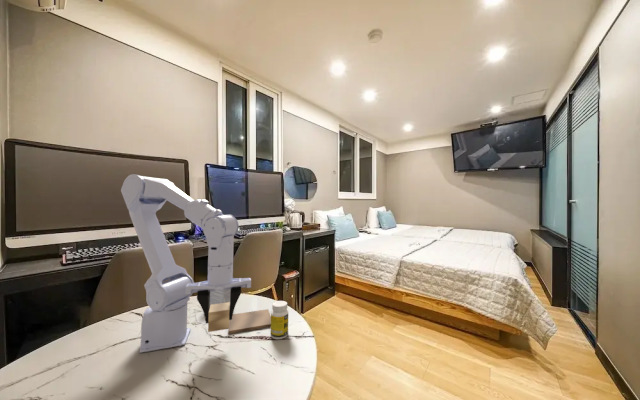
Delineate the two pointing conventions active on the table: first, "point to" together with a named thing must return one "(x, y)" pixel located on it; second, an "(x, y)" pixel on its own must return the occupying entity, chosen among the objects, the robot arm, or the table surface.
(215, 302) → the medicine box
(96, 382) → the table surface
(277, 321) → the supplement bottle
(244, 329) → the walnut board
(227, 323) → the oak cube
